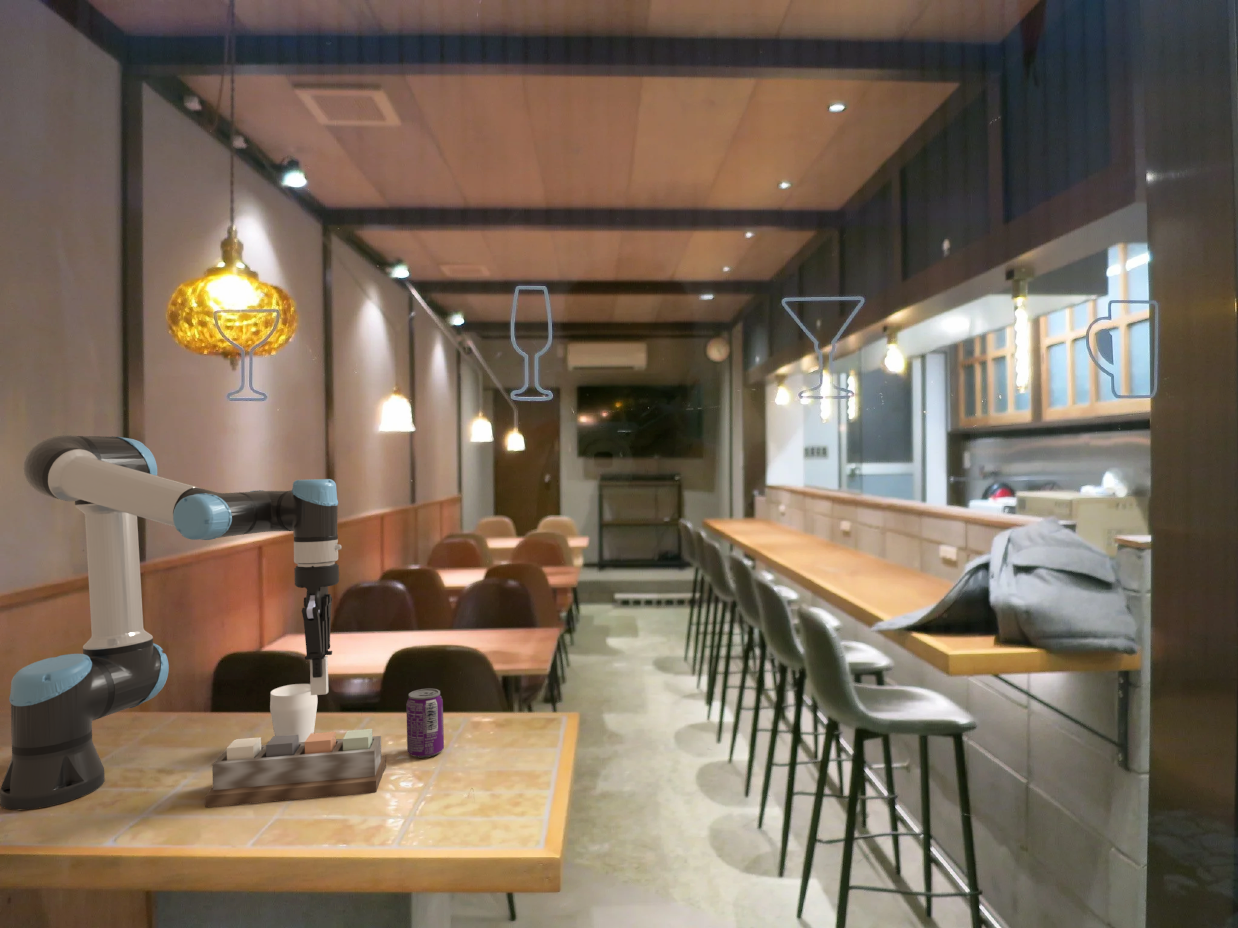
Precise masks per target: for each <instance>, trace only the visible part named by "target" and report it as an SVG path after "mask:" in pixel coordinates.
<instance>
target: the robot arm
mask: <svg viewBox="0 0 1238 928" xmlns="http://www.w3.org/2000/svg"><path fill="white" fill-rule="evenodd" d="M24 459H25V460H24V463H23V475H24V476H25V479H26V481H27V483H28V484H29V485H30V487H32V488H33V489H34V490H35V491H37V492H38V493H40V494H42V495H44V496H48V497H51V498H54V499H57V500H61V501H64V502H74V506H75V507H74V508H76V509H78V510H79V511H80V512H82V513H83V514H84V520H85V522H84V523H85V537H86V555H87V572H88V588H89V589H88V592H89V608H90V610H89V611H90V612H89V613H90V627H91V630H90V631H91V637H90V638H89V639H88V640H87V641H86V643H84V644H83V646H82V653H68V654H62V655H58V656H56V657H47V658H44V659H41V660H38V661H35V662H32V663H29V664H28V665H25V666H23V667H22V668H20V669H19V670H18V671H17V672H16V673H15V674H14V675H13V677H12V679H11V683H10V684H11V685H10V694H9V699H8V700H9V703H10V724H11V726H10V727H11V728H10V729H11V731H10V732H11V758H10V760H9V761H10V762H9V764H8V767H7V771H5V772H6V773H5V775H4V778H3V781H2V784H1V786H0V804H1V805H0V807H2V808H3V807H5V808H4V809H7V810H13V809H25V810H34V809H40V808H39V807H42V808H46V807H51V806H56V805H60V804H64V803H67V802H70V801H74V800H76V799H79V798H81V797H84V796H86V795H88V794H91V793H93V792H94V791H96V790H98V789H99V788H100V787H102V786H103V785H104V783H105V767H104V765H103V762H102V760H101V758H100V755H99V753H98V751H97V748H96V746H95V745H94V742H93V721H96V720H98V719H102V718H104V717H108V716H110V715H112V714H115V713H117V712H118V713H119V712H122V711H124V710H127V709H133V708H135V707H138V706H140V705H141V704H143V703H145V702H148V701H150V700H152V699H153V698H155V697H156V696H158V694H159V693H160V691H162V690H163V688H164V686H165V685H166V682H167V680H168V676H169V670H170V669H169V668H170V666H169V660H168V656H167V654H166V653H164V652H163V651H164V649H163V648H162V647H161V646H160V645H158V644H156V643H154V637H153V635H152V634H151V633H149V632H148V631H146V630H145V628H144V616H143V614H144V613H143V600H142V597H143V596H142V584H141V583H142V580H141V566H140V565H141V563H140V562H141V561H140V548H139V531H138V530H139V529H138V517H139V518H143V519H146V520H150V521H152V522H153V521H154V522H157V523H160V524H163V525H167V526H170V527H174V528H175V529H176V531H177V532H178V533H180V535H181V536H182V537H184V538H185V539H187V540H192V541H199V540H202V541H210V540H216V539H221V538H228V537H233V536H240V535H241V536H242V535H243V536H244V535H251V534H261V533H269V532H270V533H271V532H293V562H294V564H297V566H295V568H294V586H295V587H297V588H300V589H303V588H305V589H306V594H305V595H306V597H303V607H302V608H301V614H302V618H303V627H304V638H305V639H304V642H305V651H306V656H305V657H304V659H305V661H309V671H310V675H309V676H310V680H309V681H310V682H309V684H310V685H311V695H317V696H319V695H320V696H321V695H327V694H328V693H329V666H328V665H329V660H328V659H329V658H328V656H331V655H333V650H330V649H331V625H332V624H331V623H332V622H331V615H332V602H333V598H332V596H331V594H330V593H329V589H328V588H329V587H331V586H335V585H337V584H339V583H340V567H339V565H338V563H337V562H336V561H338V560H339V550H342V549H343V548H342V547H343V546H342V545H341V544H340V543H339V544H338V542H339V535H338V516H339V515H338V512H339V511H338V510H339V508H338V506H339V500H338V493H337V483H336V482H335V481H334V480H333V479H330V478H322V479H314V478H313V479H295V480H294V481H293V482H292V489H291V490H260V489H259V490H250V491H242V492H240V491H239V492H218V491H217V492H216V491H212V490H209V489H205V488H201V487H199V486H195V485H192V484H187V483H185V482H184V483H183V482H181V481H176V480H173V479H169V478H166V477H162V476H159V475H158V464H157V461H156V458H155V455H154V454H153V452H152V451H151V450H150V448H148V447H147V446H146V445H145V444H144V443H143V442H142V441H139V440H136V439H133V438H128V437H121V436H100V435H99V436H90V435H89V436H88V435H72V434H71V435H69V434H68V435H67V434H64V435H62V434H61V435H56V436H51V437H48V438H45V439H43V440H41V441H39V442H37V444H35V445H34V446H33V447H32V448H31V449H30V450H29V451H28V453H27V454H26V456H25V458H24Z"/></svg>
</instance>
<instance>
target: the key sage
mask: <svg viewBox="0 0 1238 928" xmlns="http://www.w3.org/2000/svg"><path fill="white" fill-rule="evenodd" d="M372 736H373V728H364V729H353V730H347V731H346V733H345V734H344V736H343V737H342V739H343V751H351V750H364V749H370V747H371V745H372Z"/></svg>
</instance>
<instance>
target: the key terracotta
mask: <svg viewBox="0 0 1238 928" xmlns="http://www.w3.org/2000/svg"><path fill="white" fill-rule="evenodd" d="M336 735H337V732H336V731H325V732H314V733H311V734H310V735H309V737H308V738H307V739H306V741H305V754H314V753H327V752H332V751H333V749H334V748H335V746H336V739H337V738H336V737H337V736H336Z"/></svg>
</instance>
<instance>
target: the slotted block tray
mask: <svg viewBox="0 0 1238 928" xmlns="http://www.w3.org/2000/svg"><path fill="white" fill-rule="evenodd" d="M211 765H212V767H211V768H212V769H211V770H212V788H211V789H210V790H209V791H208V792H207V793H206V794H205V796H204V797H205V799H204V802H205V804H204V805H205V807H204V808H213V807H215V808H217V807H224V806H237V805H246V804H248V805H249V804H258V803H259V804H261V803H270V802H279V801H281V802H283V801H292V800H293V801H294V800H302V799H303V800H304V799H305V800H306V799H315V798H325V797H326V798H327V797H335V796H344V795H345V796H348V795H361V794H368V793H377V791H378V789H379V786H380V783H381V780H382V777H383V775H384V772H385V769H386V767H387V756H386V755H382V736H381V735H376V736H375V735H374V736H373V735H372V745H371V747H370V749H364V750H351V751H343V738H336V746H335V748H334V749H333V751H332V752H327V753H314V754H305V742H299V748H298V750H297V751H296V752H295V754H294V755H290V756H277V757H266V744H261V751H260V752H259V754H258V755H257V756H256V757H255V758H253V759H240V760H228V761H227V748H226V749H225V750H224V751H223V752H222V754H221V755H219V756H218V758H216V760H214V762H212V764H211Z"/></svg>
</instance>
